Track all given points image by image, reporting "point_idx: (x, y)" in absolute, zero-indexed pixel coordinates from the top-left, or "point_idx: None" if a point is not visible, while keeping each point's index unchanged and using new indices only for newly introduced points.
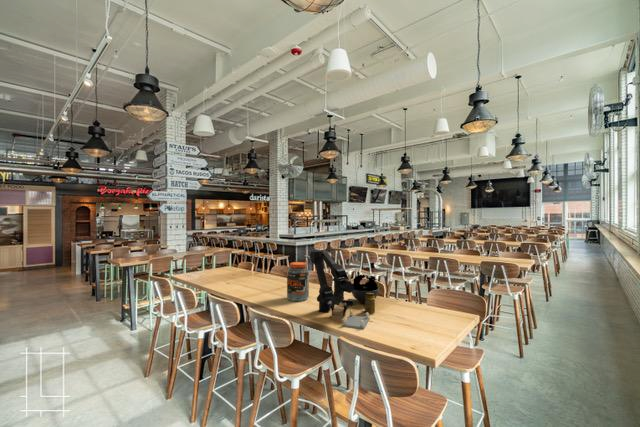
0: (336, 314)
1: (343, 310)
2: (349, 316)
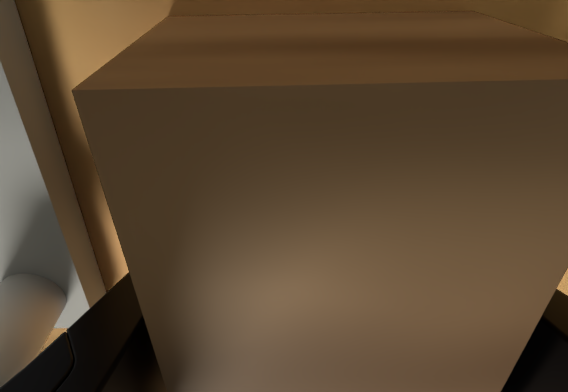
0: (363, 51)
1: (165, 369)
2: (58, 265)
